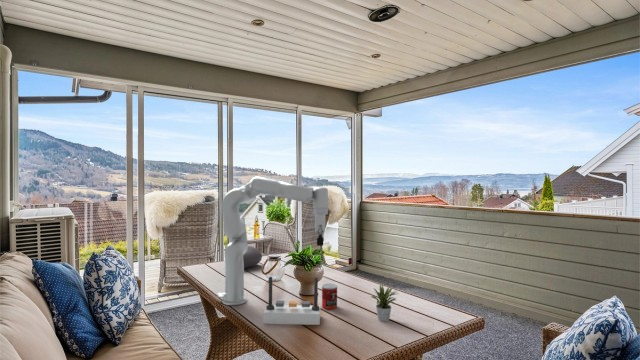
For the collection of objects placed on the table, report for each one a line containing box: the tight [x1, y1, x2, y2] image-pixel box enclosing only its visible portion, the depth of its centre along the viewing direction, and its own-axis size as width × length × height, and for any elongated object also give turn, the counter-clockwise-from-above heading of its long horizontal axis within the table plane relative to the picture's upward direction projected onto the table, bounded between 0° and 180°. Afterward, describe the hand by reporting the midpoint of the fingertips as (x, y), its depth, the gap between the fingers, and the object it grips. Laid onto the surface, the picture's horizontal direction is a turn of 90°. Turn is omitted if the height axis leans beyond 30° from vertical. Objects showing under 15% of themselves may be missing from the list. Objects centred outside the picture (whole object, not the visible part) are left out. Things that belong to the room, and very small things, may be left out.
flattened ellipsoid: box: [243, 245, 263, 269], centre depth 265 cm, size 25×25×15 cm
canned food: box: [321, 283, 338, 311], centre depth 186 cm, size 8×8×11 cm
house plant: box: [370, 284, 399, 323], centre depth 169 cm, size 14×14×16 cm
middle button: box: [288, 300, 298, 307], centre depth 169 cm, size 4×4×2 cm
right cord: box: [311, 277, 321, 311], centre depth 169 cm, size 4×4×15 cm
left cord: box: [265, 276, 275, 310], centre depth 169 cm, size 4×4×15 cm
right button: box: [301, 300, 311, 307], centre depth 169 cm, size 4×4×2 cm
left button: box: [275, 300, 285, 307], centre depth 169 cm, size 4×4×2 cm
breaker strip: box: [263, 304, 321, 326], centre depth 169 cm, size 25×10×5 cm, turn 89°
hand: (320, 243), depth 191 cm, fingers open, 9 cm apart
